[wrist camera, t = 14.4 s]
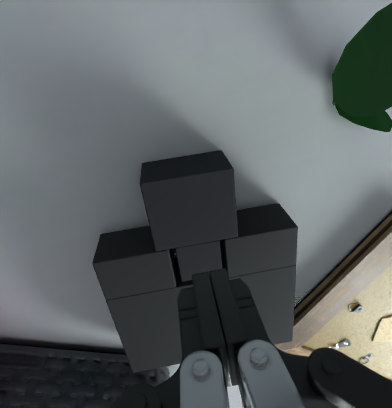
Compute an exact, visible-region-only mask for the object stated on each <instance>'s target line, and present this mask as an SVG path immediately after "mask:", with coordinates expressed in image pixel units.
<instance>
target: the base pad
mask: <svg viewBox="0 0 392 408" xmlns="http://www.w3.org/2000/svg"><path fill="white" fill-rule="evenodd" d="M236 212H237V226H238V237H234V238H228V239H222V240H219V242H220V251H221V260H222V269H224V268H226V271H227V274H228V277H229V280H233V279H238V278H240V279H241V280H243V281H244V282H245V283H246V284H247V285H248V287H249V289H250V292H251V294H252V297H253V299H254V302H255V305H256V307H257V309H258V312H259V314H260V317H261V320H262V322H263V325H264V327H265V330H266V332H267V335H268V337H269V339H270V341H271V342H272V343H273V345H276V344H281V343H286V342H291V341H293V321H294V299H295V277H296V253H297V232H298V227H297V225H296V224H295V223H294V222H293V220H292V219H291V218H290V217H289V215H288V214H287V213H286V212H285V210H284V209H283V208H282V207H281V205H280V204H273V205H267V206H261V207H255V208H250V209H244V210H238V211H236ZM92 264H93V267H94V269H95V272H96V275H97V277H98V280H99V283H100V285H101V288H102V291H103V293H104V296H105V299H106V302H107V305H108V307H109V310H110V313H111V315H112V318H113V321H114V323H115V326H116V328H117V331H118V334H119V336H120V339H121V342H122V344H123V347H124V350H125V352H126V355H127V358H128V360H129V363H130V366H131V368H132V371H133V373H135V372H140V371H145V370H150V369H155V368H160V367H165V366H170V365H175V364H180V363H181V361H182V348H181V336H180V325H179V314H178V303H177V298H178V296H179V293H180V291H181V289H185V288H190V287H193V281H192V280H188V281H182V280H181V275H180V270H179V265H178V260H177V257H174V256H173V252H172V249H166V250H160V251H156V250H155V246H154V241H153V237H152V233H151V229H150V226H147V227H141V228H136V229H130V230H124V231H119V232H113V233H107V234H101V235H100V239H99V242H98V246H97V249H96V253H95V256H94V260H93V263H92ZM209 278H210V277H209Z"/></svg>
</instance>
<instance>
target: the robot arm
mask: <svg viewBox="0 0 392 408" xmlns="http://www.w3.org/2000/svg"><path fill="white" fill-rule="evenodd" d="M209 276H210V278H209ZM192 281H193V287H190V288H185V289H181V291H180V293H179V296H178V298H177V303H178V314H179V325H180V336H181V348H182V361H181V364H180V366H179V368H178V370H177V371H176V372H175V373H174V375H173V376H171V377H170V378H169V379H167V380H166V381H164V382H162V383H160V384H159V385H157V386H155V387H154V386H152V385H151V384H148V383H138V384H134V385H132V386H130V387H129V388H128V389H126V390H125V391H124V392H123V393H122V395H121V396H120V397H119V399H118V400H117V401H116V403H115V404H114V405H113V407H112V408H229V400H228V392H227V387H230V379H231V383H232V386H234V385H239V390H240V394H241V398H242V407H243V408H392V381H390V380H389V379H387V378H385V377H383V376H382V375H380V374H378V373H377V372H375V371H373V370H371V369H370V368H368V367H366V366H364V365H363V364H361V363H359V362H357V361H356V360H354V359H352V358H350V357H349V356H347V355H345V354H343V353H342V352H340V351H338V350H335V349H332V348H326V347H324V348H318V349H316V350H314V351H313V352H312V353H311V354H310V356H302V355H294V354H289V353H286V352H283V351H281V350H280V349H278V348H277V347H276V346H274V345H273V343H272V342H271V341H270V339H269V337H268V335H267V332H266V330H265V327H264V325H263V322H262V320H261V317H260V314H259V312H258V309H257V307H256V305H255V302H254V299H253V297H252V294H251V292H250V289H249V287H248V285H247V284H246V283H245V282H244V281H243V280H241V279H240V278H238V279H233V280H229V277H228V274H227V271H226V268H224V269H218V270H213V271H209V274H208V272H203V273H197V274H192ZM228 370H229V371H228ZM229 374H230V379H229Z"/></svg>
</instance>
